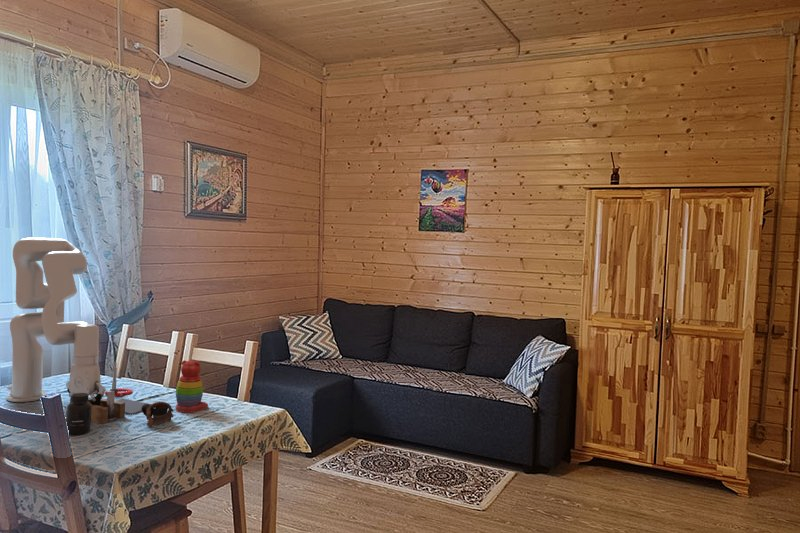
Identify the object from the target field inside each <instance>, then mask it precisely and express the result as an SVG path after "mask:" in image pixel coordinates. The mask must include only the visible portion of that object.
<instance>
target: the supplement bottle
mask: <svg viewBox="0 0 800 533" xmlns="http://www.w3.org/2000/svg"><path fill="white" fill-rule="evenodd" d="M89 396H90V395H88V394H87V393H75V394H72V395H71V403H70V402H69V404H68V405H67V407H66V418H65V421H67V426H68V430H69V435H68V436H76V437H77V436H84V435H86V434H88V433H90V431H91V428H92V427H91V426H92V422H91V409H92V405H91V403H89V402H88V400H89V398H90V397H89Z"/></svg>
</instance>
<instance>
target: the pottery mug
mask: <svg viewBox="0 0 800 533" xmlns="http://www.w3.org/2000/svg"><path fill="white" fill-rule="evenodd" d="M150 404H151V405H150ZM154 407H155V408H154ZM141 410H142V412H141V413H143V415H144V416H145V417H146V421H147V422H146V424H147V427H149V428H153V426H156V425H159V424H160V425H161V424H163V423H166V421H167V422H168V421H171V420H172V418H174V414H173V412H174V409H173V408H172V406H171V404H169V403H168V402H165V401H156V402H153V403H149V404H144V405H143V406H142V408H141Z"/></svg>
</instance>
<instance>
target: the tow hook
mask: <svg viewBox="0 0 800 533" xmlns="http://www.w3.org/2000/svg"><path fill="white" fill-rule="evenodd" d="M117 364H118V362H115V361H114V366H113V367H114V368H113V372H112V383H111V388H110V390H107V391H115V397H122V396H124V395H130V394H132V393H133V390H132V389H131V388H130V389H129V388H117V374H118V373H117V372H118V368H117ZM107 391H105V393H104V395H105V396H107ZM126 391H127V392H126Z"/></svg>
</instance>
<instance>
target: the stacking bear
mask: <svg viewBox="0 0 800 533" xmlns="http://www.w3.org/2000/svg"><path fill="white" fill-rule="evenodd" d="M201 369H202V368H201V363H200V362H199V361H198V360H197V361H195V360H182V361H181V367H180V372H181V376H180V377H179V379H178V381H177V385H176V387H175V397H176V404H175V411H177V412H179V413H194V412H195V413H196V412H199V411H203V410H206V409H207V408H208V407H209V404H208V403H207V402H205V401H202V398H203V395H204V388H203V387H204V386H203V381H202V378H201V377H200V374H201V373H200V372H201Z"/></svg>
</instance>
